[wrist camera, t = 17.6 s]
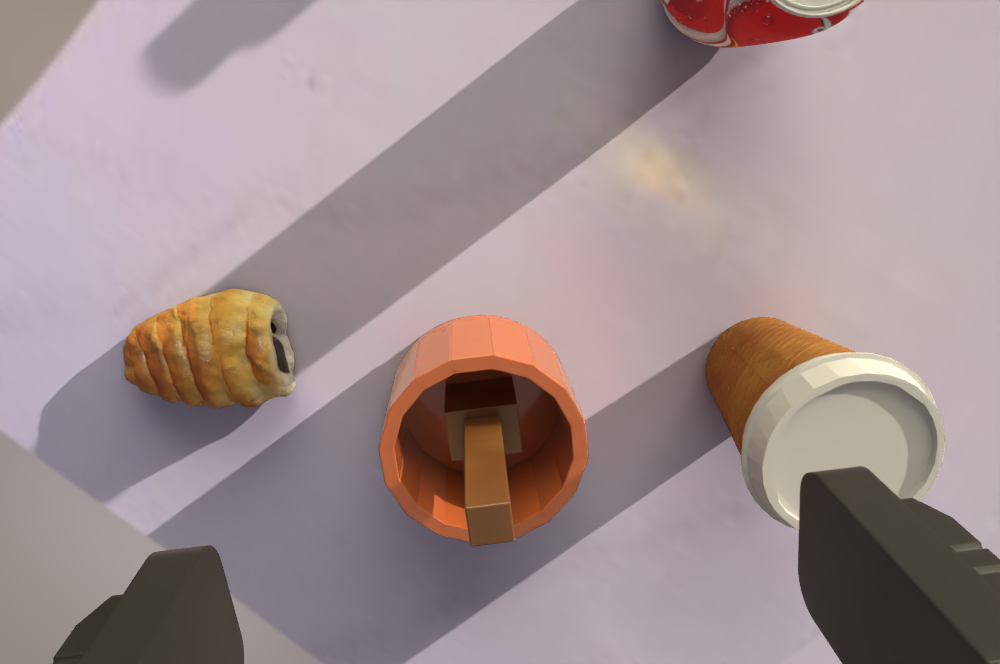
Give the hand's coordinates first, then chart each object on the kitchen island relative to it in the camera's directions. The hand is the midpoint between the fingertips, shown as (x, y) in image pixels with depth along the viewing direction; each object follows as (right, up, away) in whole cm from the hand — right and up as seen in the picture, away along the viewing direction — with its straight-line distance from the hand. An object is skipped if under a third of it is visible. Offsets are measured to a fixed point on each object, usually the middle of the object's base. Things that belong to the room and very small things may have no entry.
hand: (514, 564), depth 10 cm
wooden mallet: (-1, -1, +34) cm, 34 cm away
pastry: (-16, +2, +34) cm, 37 cm away
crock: (-1, -1, +35) cm, 35 cm away
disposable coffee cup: (+15, +1, +36) cm, 39 cm away
